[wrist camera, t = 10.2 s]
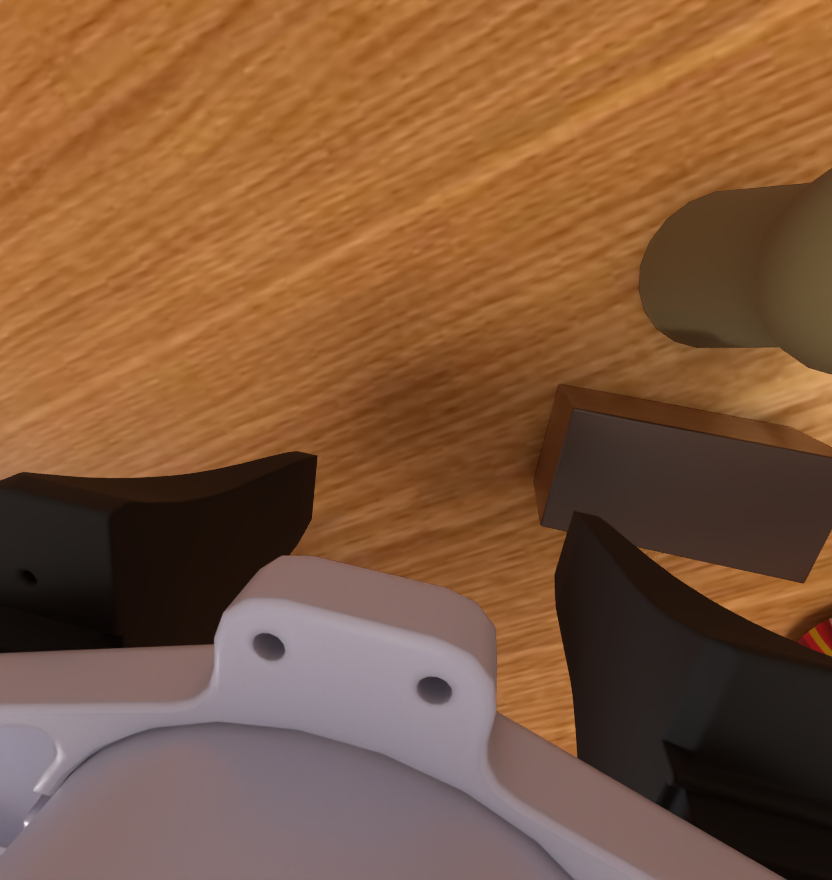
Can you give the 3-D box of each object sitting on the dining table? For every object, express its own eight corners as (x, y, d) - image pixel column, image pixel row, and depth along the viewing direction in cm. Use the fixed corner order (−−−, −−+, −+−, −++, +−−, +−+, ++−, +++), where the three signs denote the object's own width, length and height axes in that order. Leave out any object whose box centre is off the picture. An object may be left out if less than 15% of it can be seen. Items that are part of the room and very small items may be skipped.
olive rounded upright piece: (805, 169, 18) (1224, 14, 7) (803, 332, 19) (1146, 389, 9) (632, 211, 19) (786, 128, 9) (644, 360, 21) (785, 437, 10)
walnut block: (747, 527, 22) (804, 584, 18) (532, 482, 23) (539, 526, 19) (792, 427, 21) (866, 463, 16) (559, 383, 22) (573, 407, 17)
